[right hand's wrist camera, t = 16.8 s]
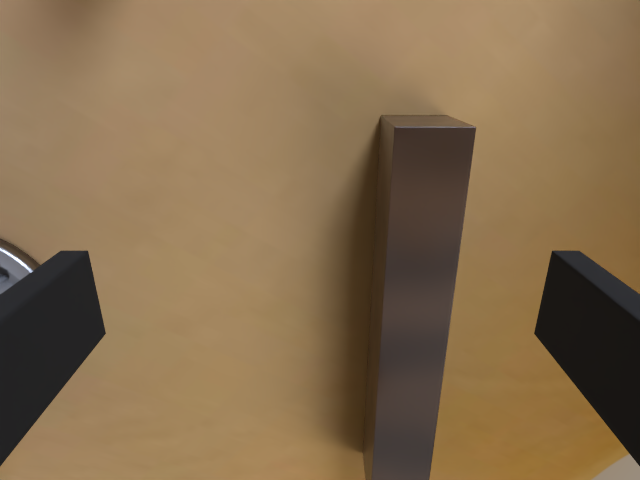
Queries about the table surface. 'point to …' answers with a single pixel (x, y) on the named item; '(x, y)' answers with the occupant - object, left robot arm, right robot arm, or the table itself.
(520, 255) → the table surface
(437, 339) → the walnut beam
